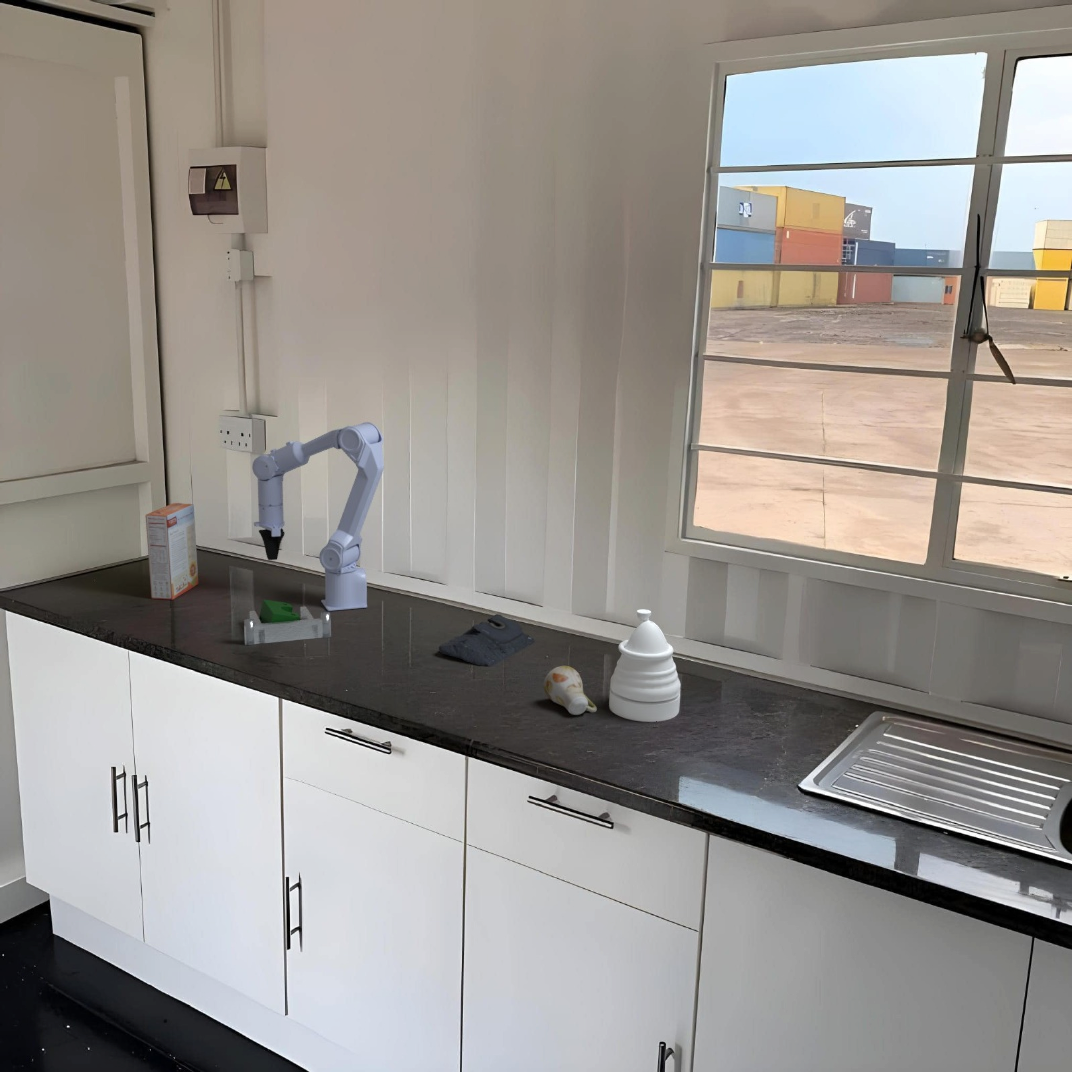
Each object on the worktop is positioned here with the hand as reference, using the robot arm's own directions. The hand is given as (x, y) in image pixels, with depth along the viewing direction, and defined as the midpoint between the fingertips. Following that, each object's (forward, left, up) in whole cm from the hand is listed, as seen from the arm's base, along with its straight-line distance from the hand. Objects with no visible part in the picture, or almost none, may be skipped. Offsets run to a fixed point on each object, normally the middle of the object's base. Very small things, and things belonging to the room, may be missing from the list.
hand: (272, 559), depth 250 cm
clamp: (+3, +27, -10) cm, 28 cm away
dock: (+2, +27, -9) cm, 29 cm away
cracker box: (+22, -11, -10) cm, 26 cm away
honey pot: (-53, +91, -10) cm, 106 cm away
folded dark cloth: (-37, +50, -10) cm, 63 cm away
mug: (-40, +86, -10) cm, 96 cm away
